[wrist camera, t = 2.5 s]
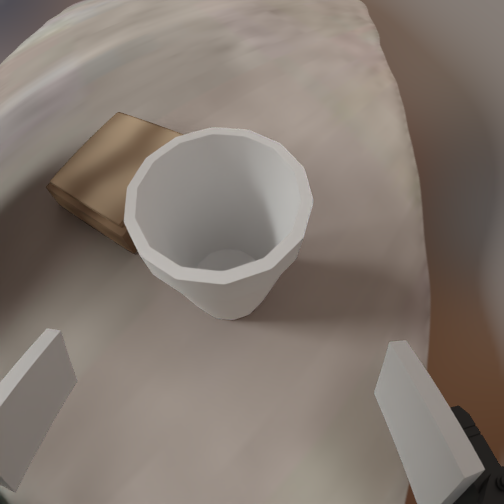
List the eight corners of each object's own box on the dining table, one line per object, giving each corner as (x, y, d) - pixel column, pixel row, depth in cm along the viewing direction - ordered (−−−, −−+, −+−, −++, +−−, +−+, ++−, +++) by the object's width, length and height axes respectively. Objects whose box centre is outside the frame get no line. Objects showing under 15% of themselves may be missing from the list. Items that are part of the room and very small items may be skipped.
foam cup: (261, 222, 30) (270, 113, 18) (301, 314, 26) (346, 243, 14) (162, 254, 28) (114, 156, 17) (191, 353, 25) (142, 311, 13)
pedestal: (59, 204, 31) (43, 183, 27) (126, 132, 35) (117, 108, 32) (134, 254, 28) (119, 233, 25) (205, 164, 33) (201, 137, 29)
